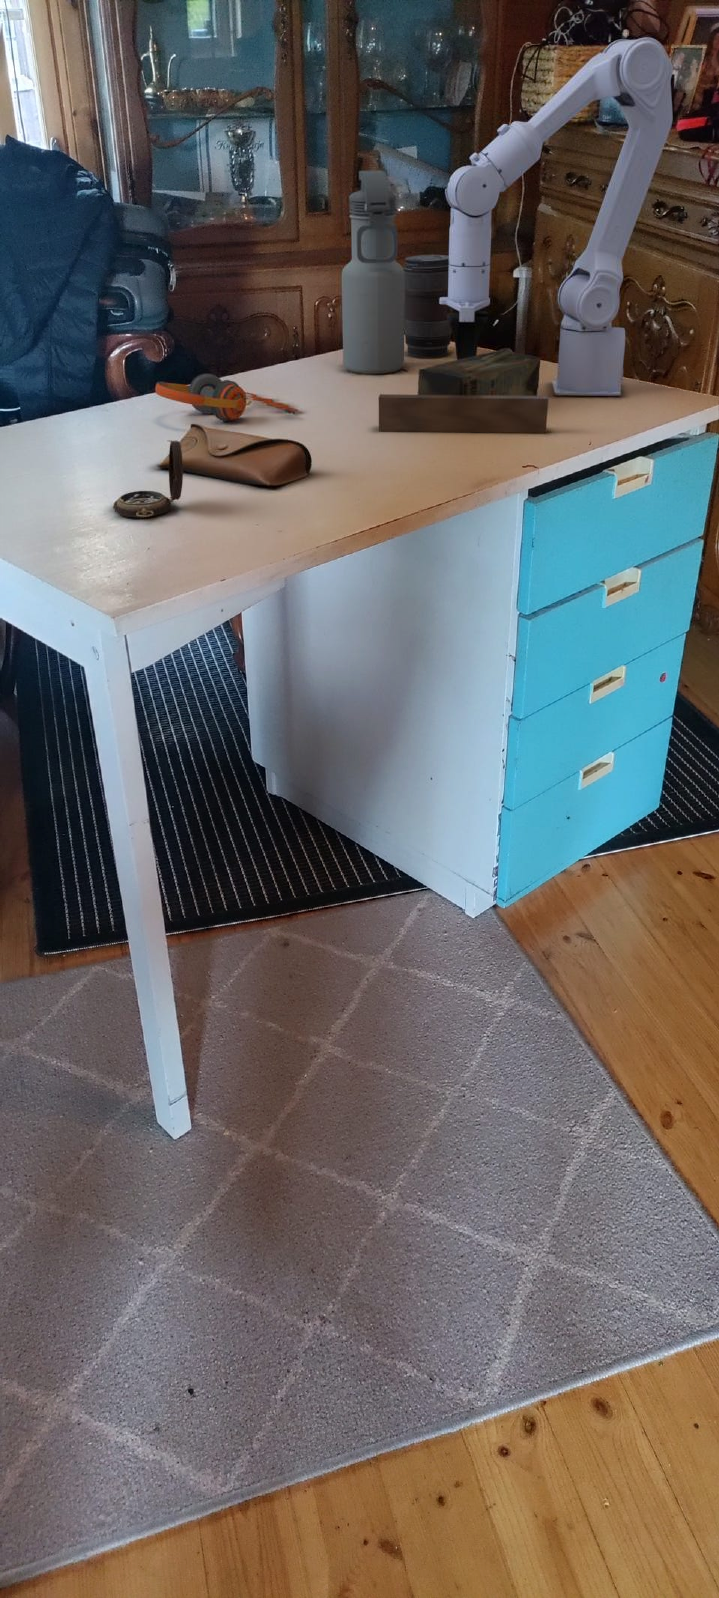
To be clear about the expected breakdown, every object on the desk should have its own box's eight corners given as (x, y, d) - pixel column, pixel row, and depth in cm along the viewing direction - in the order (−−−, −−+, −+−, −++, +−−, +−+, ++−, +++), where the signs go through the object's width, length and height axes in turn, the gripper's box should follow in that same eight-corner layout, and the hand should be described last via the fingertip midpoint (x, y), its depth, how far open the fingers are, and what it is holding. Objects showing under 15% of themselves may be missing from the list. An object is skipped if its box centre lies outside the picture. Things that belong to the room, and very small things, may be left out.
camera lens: (427, 347, 205) (428, 252, 197) (461, 353, 200) (464, 256, 192) (393, 354, 200) (393, 257, 193) (427, 361, 195) (428, 261, 187)
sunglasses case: (150, 465, 143) (163, 410, 143) (184, 482, 149) (197, 429, 149) (273, 487, 135) (287, 429, 135) (303, 503, 141) (317, 448, 141)
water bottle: (409, 374, 187) (411, 173, 172) (347, 376, 186) (344, 175, 171) (398, 361, 195) (399, 168, 181) (339, 363, 194) (335, 170, 180)
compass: (112, 504, 132) (104, 438, 128) (183, 498, 134) (177, 432, 130) (116, 527, 125) (107, 457, 122) (191, 520, 127) (185, 452, 123)
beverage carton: (541, 399, 172) (544, 351, 168) (459, 425, 159) (461, 374, 156) (496, 391, 176) (498, 344, 173) (413, 416, 164) (414, 366, 161)
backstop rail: (545, 430, 157) (547, 395, 155) (545, 433, 156) (548, 398, 153) (379, 428, 159) (379, 394, 157) (378, 431, 158) (378, 397, 155)
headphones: (249, 411, 178) (130, 400, 165) (254, 374, 176) (133, 360, 163) (314, 434, 166) (191, 424, 154) (321, 395, 164) (196, 381, 152)
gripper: (442, 257, 171) (440, 356, 178) (438, 271, 159) (436, 377, 166) (491, 257, 170) (487, 356, 177) (491, 271, 158) (486, 377, 165)
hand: (465, 366), depth 171 cm, fingers closed
